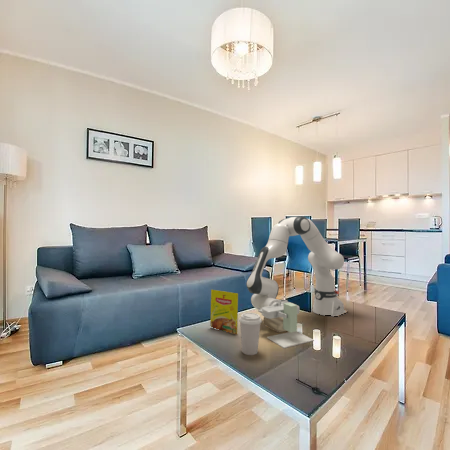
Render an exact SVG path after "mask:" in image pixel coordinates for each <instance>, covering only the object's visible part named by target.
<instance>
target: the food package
mask: <svg viewBox="0 0 450 450" xmlns="http://www.w3.org/2000/svg"><path fill="white" fill-rule="evenodd" d="M238 309H239V293H238V292H231V291H224V290H217V289H210V325H209V326H211V327H213V328H216V329H219V330H222V331H221V332H224V331H226V332H225V333H228V332H229V334H232V335H238V321H239V317H238V316H239V315H238V314H239V313H238V312H239V310H238ZM219 330H218V331H219Z"/></svg>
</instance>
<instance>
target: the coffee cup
mask: <svg viewBox="0 0 450 450" xmlns="http://www.w3.org/2000/svg"><path fill="white" fill-rule="evenodd" d="M238 321H239V323H240V340H241V342H240V343H241V353H243V354H244V355H247V356H255V355H257V354H258V353H259V352H258V350H259V342H260V341H259V339H260V331H261V323H263V322H262V318H261V315H260V314H259V313H255V312H243V313H241V315H240V317H238Z"/></svg>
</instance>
